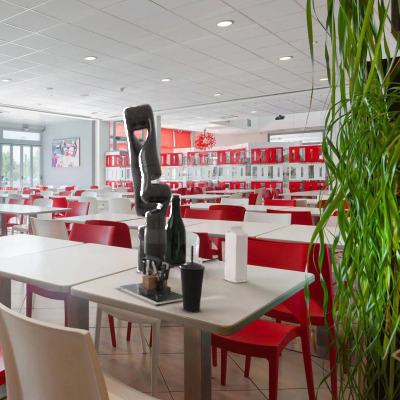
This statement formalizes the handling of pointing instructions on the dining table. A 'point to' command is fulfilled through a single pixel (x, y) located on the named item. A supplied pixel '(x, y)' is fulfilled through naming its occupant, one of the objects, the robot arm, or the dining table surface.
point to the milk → (236, 255)
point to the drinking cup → (191, 284)
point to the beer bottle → (175, 235)
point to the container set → (196, 260)
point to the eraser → (152, 286)
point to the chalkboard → (156, 298)
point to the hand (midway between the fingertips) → (154, 289)
